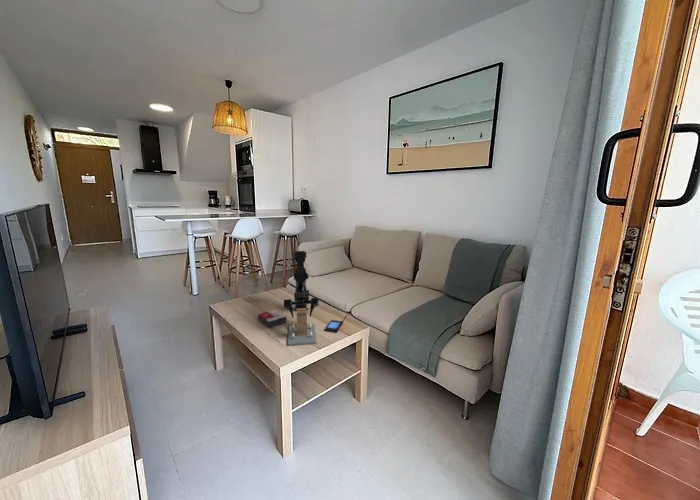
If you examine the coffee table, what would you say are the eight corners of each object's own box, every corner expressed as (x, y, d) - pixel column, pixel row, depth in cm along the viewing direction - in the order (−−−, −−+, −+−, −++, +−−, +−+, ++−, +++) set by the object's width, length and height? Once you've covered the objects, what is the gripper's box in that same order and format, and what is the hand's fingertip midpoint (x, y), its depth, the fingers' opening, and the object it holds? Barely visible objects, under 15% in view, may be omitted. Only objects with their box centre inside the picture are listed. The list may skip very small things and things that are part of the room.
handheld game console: (331, 321, 170) (331, 309, 169) (349, 324, 167) (349, 312, 166) (323, 331, 158) (323, 318, 157) (342, 334, 156) (342, 321, 154)
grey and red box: (274, 308, 179) (286, 315, 168) (275, 315, 180) (286, 322, 168) (257, 313, 172) (268, 321, 161) (258, 320, 173) (269, 328, 161)
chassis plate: (289, 327, 162) (289, 321, 161) (314, 325, 165) (314, 319, 164) (287, 346, 143) (287, 339, 142) (316, 343, 145) (316, 337, 145)
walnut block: (297, 331, 156) (296, 308, 153) (306, 330, 156) (306, 308, 154) (297, 335, 151) (296, 312, 148) (307, 335, 152) (306, 312, 149)
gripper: (283, 285, 156) (282, 313, 147) (318, 283, 159) (319, 311, 150) (284, 294, 165) (284, 320, 157) (317, 292, 168) (318, 318, 160)
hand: (301, 317), depth 156 cm, fingers open, 9 cm apart
